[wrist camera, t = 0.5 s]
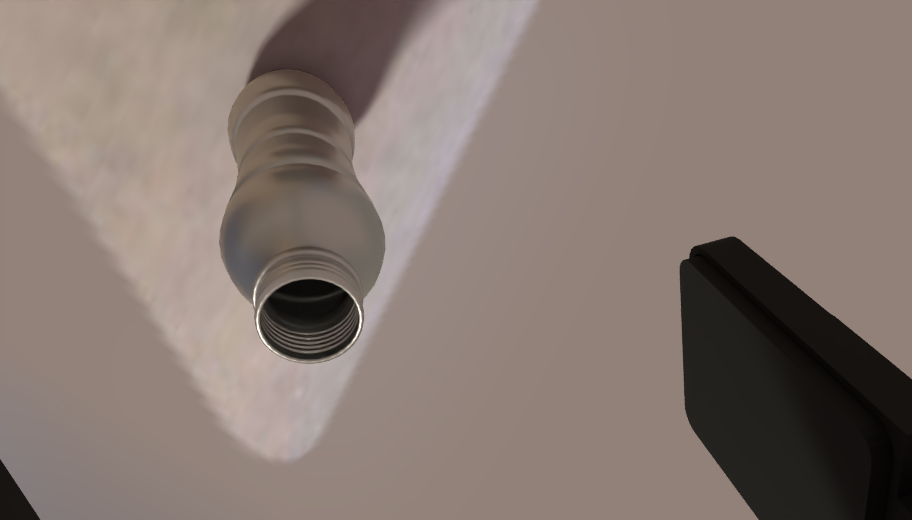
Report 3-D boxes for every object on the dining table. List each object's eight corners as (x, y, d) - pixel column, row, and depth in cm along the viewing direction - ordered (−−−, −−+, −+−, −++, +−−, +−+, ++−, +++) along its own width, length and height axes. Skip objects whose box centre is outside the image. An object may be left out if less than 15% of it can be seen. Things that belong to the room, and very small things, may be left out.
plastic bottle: (292, 33, 40) (313, 193, 23) (374, 125, 44) (444, 323, 27) (203, 110, 41) (161, 317, 24) (290, 194, 45) (306, 426, 28)
